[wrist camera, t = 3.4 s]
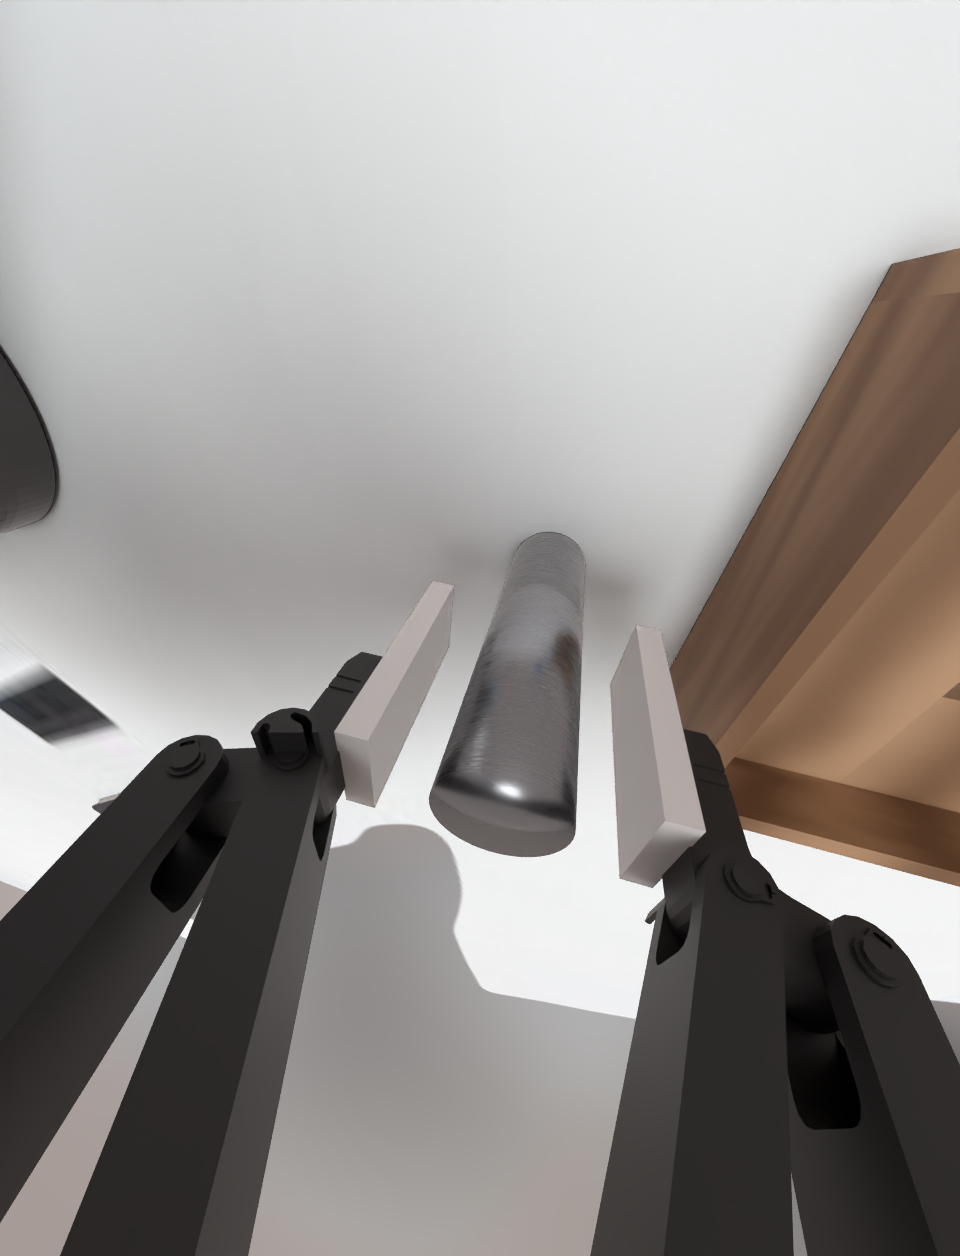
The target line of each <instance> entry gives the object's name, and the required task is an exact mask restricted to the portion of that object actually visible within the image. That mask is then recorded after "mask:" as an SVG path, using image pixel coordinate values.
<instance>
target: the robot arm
mask: <svg viewBox="0 0 960 1256" xmlns="http://www.w3.org/2000/svg"><path fill="white" fill-rule="evenodd" d="M54 494H55V473H54V467H53V461H52V457H51V453H50V450H49V446H48V443H47V440H46V438H45V435H44V432H43V430H42V427H41V425H40V422H39V420H38V418H37V416H36V414H35V411H34V409H33V407H32V405H31V403H30V401H29V399H28V398H27V396H26V394H25V392H24V390H23V388H22V387H21V385H20V383H19V381H18V380H17V378H16V376H15V375H14V373H13V371H12V370H11V368H10V367H9V365H8V364H7V362H6V360H5V359H4V357H3V356H2V354H1V353H0V534H2V533H5V532H8V531H11V530H14V529H16V528H19V527H22V526H25V525H28V524H31V523H34V522H36V521H38V520H40V519H41V518H42V517H44V516H45V515H46V513H47V512H48V511H49V509H50V507H51V505H52V502H53V499H54ZM453 591H454V585H450V584H445V583H441V582H436V581H432V582H431V584H430V585H429V587H428V588H427V590H426V591H425V593H424V595H423V596H422V598H421V599H420V601H419V602H418V604H417V605H416V607H415V608H414V610H413V611H412V613H411V614H410V616H409V618H408V619H407V621H406V622H405V624H404V625H403V627H402V628H401V630H400V631H399V633H398V634H397V636H396V638H395V639H394V641H393V642H392V644H391V645H390V647H389V648H388V650H387V651H386V653H385V654H384V656H383V657H381V656H377V655H373V654H369V653H364V652H361V653H359V654H357V655H356V656H354V657H353V658H351V659H350V660H348V661H347V662H346V663H345V664H344V666H343V667H342V668H341V670H340V671H339V672H338V674H337V676H336V677H335V678H334V679H333V680H332V682H331V683H330V684H329V687H328V688H326V689H325V691H324V692H323V693H322V695H321V696H320V697H319V699H318V700H317V701H316V703H315V704H314V705H313V707H312V708H311V709H310V711H309V712H308V711H307V710H305V709H299V708H288V709H281V710H278V711H276V712H273V713H271V714H268V715H267V716H266V717H264V718H263V719H262V720H260V721H259V722H258V723H257V724H256V726H255V727H254V728H253V730H252V731H251V734H252V737H253V740H254V742H255V745H256V747H257V748H239V749H223V748H222V746H221V745H220V743H219V742H218V740H217V739H215V738H212V737H210V736H207V735H194V736H190V737H186V738H182V739H180V740H178V741H176V742H174V743H172V744H170V745H168V746H167V747H166V748H164V749H163V750H162V751H161V752H160V753H158V754H157V755H156V756H155V757H154V758H153V759H152V760H151V762H150V763H149V764H148V765H147V766H146V767H145V768H144V769H143V770H142V771H141V772H140V773H139V774H138V775H137V776H136V777H135V779H134V780H133V781H132V782H131V783H130V784H129V785H128V786H127V787H126V788H125V789H124V790H123V791H122V792H121V793H120V794H119V796H118V797H117V798H116V799H115V800H114V801H113V802H112V803H111V804H110V805H109V806H108V807H107V808H106V809H105V810H104V811H103V812H102V814H101V815H100V816H99V817H98V818H97V819H96V820H95V821H94V822H93V823H92V824H91V825H90V826H89V827H88V828H87V829H86V831H85V832H84V833H83V834H82V835H81V836H80V837H79V838H78V839H77V840H76V841H75V842H74V843H73V844H72V845H71V846H70V847H69V849H68V850H67V851H66V852H65V853H64V854H63V855H62V856H61V857H60V858H59V859H58V860H57V861H56V862H55V863H54V864H53V866H52V867H51V868H50V869H49V870H48V871H47V872H46V873H45V874H44V875H43V876H42V877H41V878H40V879H39V880H38V881H37V883H36V884H35V885H34V886H33V887H32V888H31V889H30V890H29V891H28V892H27V893H26V894H25V895H24V896H23V897H22V898H21V900H20V901H19V902H18V903H17V904H16V905H15V906H14V907H13V908H12V909H11V910H10V911H9V912H8V913H7V914H6V915H5V916H4V918H3V919H2V920H1V921H0V1222H1V1221H2V1219H3V1217H4V1216H5V1214H6V1213H7V1211H8V1209H9V1208H10V1206H11V1205H12V1203H13V1201H14V1200H15V1198H16V1196H17V1195H18V1193H19V1192H20V1190H21V1189H22V1187H23V1185H24V1184H25V1182H26V1181H27V1179H28V1177H29V1176H30V1174H31V1173H32V1171H33V1169H34V1168H35V1166H36V1165H37V1163H38V1161H39V1160H40V1158H41V1157H42V1155H43V1153H44V1152H45V1150H46V1148H47V1147H48V1145H49V1144H50V1142H51V1141H52V1139H53V1137H54V1136H55V1134H56V1133H57V1131H58V1129H59V1128H60V1126H61V1125H62V1123H63V1121H64V1120H65V1118H66V1117H67V1115H68V1113H69V1112H70V1110H71V1109H72V1107H73V1105H74V1104H75V1102H76V1101H77V1099H78V1097H79V1096H80V1094H81V1092H82V1091H83V1089H84V1088H85V1086H86V1085H87V1083H88V1081H89V1080H90V1078H91V1077H92V1075H93V1073H94V1072H95V1070H96V1069H97V1067H98V1065H99V1063H100V1062H101V1061H102V1059H103V1057H104V1056H105V1054H106V1052H107V1051H108V1049H109V1048H110V1046H111V1044H112V1043H113V1041H114V1039H115V1038H116V1036H117V1035H118V1033H119V1032H120V1030H121V1028H122V1027H123V1025H124V1023H125V1022H126V1020H127V1019H128V1017H129V1016H130V1014H131V1012H132V1011H133V1009H134V1008H135V1006H136V1004H137V1003H138V1001H139V999H140V998H141V996H142V995H143V993H144V992H145V990H146V988H147V987H148V985H149V984H150V982H151V980H152V979H153V977H154V976H155V974H156V972H157V971H158V969H159V968H160V966H161V964H162V963H163V961H164V959H165V958H166V956H167V955H168V953H169V952H170V950H171V948H172V946H173V945H174V944H175V942H176V940H177V939H178V937H179V936H180V934H181V932H182V931H183V929H184V928H185V926H186V924H187V923H188V921H189V920H190V918H191V916H192V914H193V913H194V912H195V910H196V908H197V907H198V905H199V904H200V902H201V900H202V899H203V900H202V902H201V905H200V907H199V910H198V912H197V915H196V917H195V920H194V922H193V925H192V927H191V930H190V932H189V935H188V937H187V940H186V942H185V945H184V948H183V950H182V952H181V955H180V957H179V960H178V962H177V965H176V968H175V970H174V972H173V975H172V977H171V980H170V982H169V985H168V988H167V990H166V992H165V995H164V997H163V1000H162V1002H161V1005H160V1007H159V1010H158V1012H157V1015H156V1017H155V1020H154V1022H153V1025H152V1027H151V1030H150V1032H149V1035H148V1037H147V1040H146V1042H145V1045H144V1047H143V1050H142V1052H141V1055H140V1057H139V1060H138V1062H137V1065H136V1067H135V1070H134V1072H133V1075H132V1077H131V1080H130V1082H129V1085H128V1087H127V1090H126V1092H125V1095H124V1097H123V1100H122V1102H121V1105H120V1108H119V1110H118V1112H117V1115H116V1118H115V1120H114V1122H113V1125H112V1127H111V1130H110V1132H109V1135H108V1137H107V1140H106V1142H105V1145H104V1147H103V1150H102V1152H101V1155H100V1157H99V1160H98V1162H97V1165H96V1167H95V1170H94V1172H93V1175H92V1177H91V1180H90V1182H89V1185H88V1187H87V1190H86V1192H85V1195H84V1197H83V1200H82V1202H81V1205H80V1207H79V1210H78V1212H77V1215H76V1217H75V1220H74V1222H73V1225H72V1227H71V1230H70V1232H69V1235H68V1237H67V1240H66V1242H65V1245H64V1247H63V1250H62V1252H61V1255H60V1256H248V1253H249V1248H250V1243H251V1238H252V1233H253V1228H254V1223H255V1218H256V1213H257V1208H258V1203H259V1198H260V1193H261V1188H262V1183H263V1178H264V1173H265V1168H266V1163H267V1159H268V1153H269V1148H270V1143H271V1139H272V1133H273V1129H274V1123H275V1119H276V1114H277V1108H278V1104H279V1099H280V1094H281V1089H282V1084H283V1078H284V1074H285V1069H286V1064H287V1059H288V1054H289V1049H290V1044H291V1039H292V1034H293V1029H294V1024H295V1019H296V1014H297V1009H298V1004H299V999H300V994H301V989H302V984H303V979H304V974H305V969H306V964H307V959H308V954H309V949H310V944H311V939H312V934H313V929H314V924H315V920H316V915H317V909H318V905H319V899H320V895H321V890H322V885H323V880H324V875H325V870H326V864H327V860H328V855H329V850H330V845H331V840H332V835H333V830H334V825H335V820H336V803H337V801H338V799H339V797H340V796H341V794H342V792H343V790H344V789H345V795H346V800H349V801H353V802H356V803H360V804H363V805H367V806H370V807H374V808H375V806H376V804H377V802H378V799H379V797H380V795H381V793H382V791H383V789H384V786H385V784H386V782H387V780H388V778H389V776H390V773H391V771H392V769H393V767H394V765H395V763H396V760H397V758H398V756H399V754H400V752H401V750H402V747H403V745H404V743H405V741H406V739H407V737H408V734H409V732H410V730H411V728H412V726H413V724H414V721H415V719H416V717H417V715H418V713H419V711H420V708H421V706H422V704H423V702H424V700H425V698H426V695H427V693H428V691H429V689H430V687H431V685H432V682H433V680H434V678H435V676H436V674H437V672H438V669H439V667H440V665H441V663H442V661H443V659H444V656H445V654H446V652H447V650H448V648H449V640H450V628H451V616H452V603H453ZM610 690H611V711H612V732H613V752H614V773H615V794H616V815H617V835H618V856H619V877H620V879H623V880H627V881H630V882H634V883H637V884H641V885H644V886H648V887H651V888H653V887H654V886H655V885H656V884H657V883H658V882H659V881H660V880H661V879H663V887H664V895H665V898H664V899H663V900H662V901H660V902H659V903H658V904H657V905H656V906H655V907H654V908H653V909H652V910H651V911H650V912H649V914H648V916H647V918H646V920H645V922H647V923H648V924H651V923H652V922H653V921H654V920H655V924H654V929H653V934H652V940H651V945H650V950H649V955H648V960H647V965H646V971H645V976H644V981H643V986H642V991H641V996H640V1002H639V1007H638V1012H637V1017H636V1022H635V1027H634V1033H633V1038H632V1043H631V1049H630V1053H629V1059H628V1064H627V1069H626V1074H625V1079H624V1085H623V1090H622V1095H621V1100H620V1105H619V1110H618V1115H617V1121H616V1126H615V1131H614V1136H613V1141H612V1146H611V1152H610V1157H609V1162H608V1167H607V1173H606V1178H605V1183H604V1188H603V1193H602V1198H601V1203H600V1209H599V1214H598V1219H597V1224H596V1229H595V1234H594V1240H593V1245H592V1251H591V1255H590V1256H794V1252H793V1222H792V1192H791V1173H792V1178H793V1183H794V1188H795V1193H796V1199H797V1204H798V1209H799V1214H800V1219H801V1224H802V1229H803V1234H804V1239H805V1245H806V1250H807V1255H808V1256H960V1065H959V1062H958V1060H957V1058H956V1056H955V1054H954V1052H953V1050H952V1047H951V1045H950V1043H949V1040H948V1038H947V1036H946V1034H945V1032H944V1030H943V1027H942V1025H941V1023H940V1021H939V1019H938V1017H937V1014H936V1012H935V1010H934V1008H933V1005H932V1003H931V1001H930V999H929V997H928V994H927V992H926V990H925V988H924V986H923V983H922V981H921V979H920V977H919V975H918V973H917V971H916V970H915V968H914V966H913V965H912V963H911V961H910V960H909V958H908V956H907V955H906V954H905V953H904V952H903V951H902V950H901V948H900V947H899V946H898V945H897V944H896V943H895V942H894V940H893V939H892V938H890V937H889V936H888V935H887V934H885V933H884V932H883V931H882V930H880V929H879V928H878V927H877V926H875V925H874V924H872V923H870V922H868V921H866V920H864V919H862V918H860V917H856V916H849V915H843V916H841V917H838V918H836V919H834V920H832V921H830V920H829V919H827V918H825V917H824V916H822V915H820V914H818V913H817V912H815V911H813V910H812V909H810V908H808V907H806V906H805V905H803V904H801V903H800V902H798V901H796V900H795V899H793V898H791V897H790V896H788V895H787V894H785V893H784V892H782V891H781V890H779V889H778V887H777V885H776V884H775V882H774V880H773V878H772V876H771V875H770V873H769V872H768V871H767V870H766V869H765V868H764V867H763V866H762V865H761V864H760V863H759V861H757V860H756V859H754V858H753V857H752V856H751V853H750V851H749V849H748V846H747V842H746V839H745V836H744V832H743V829H742V826H741V822H740V819H739V816H738V812H737V809H736V806H735V802H734V799H733V796H732V792H731V790H729V787H730V786H729V783H728V779H727V776H726V775H725V774H724V773H725V769H724V766H723V763H722V759H721V756H720V753H719V751H718V750H717V748H716V747H715V746H714V744H713V743H712V741H711V740H710V739H709V737H708V736H707V734H703V733H699V732H695V731H691V730H686V729H683V728H682V723H681V719H680V714H679V710H678V706H677V701H676V697H675V692H674V688H673V684H672V679H671V675H670V670H669V666H668V661H667V657H666V653H665V648H664V644H663V639H662V635H661V631H660V630H658V629H653V628H648V627H644V626H639V625H636V627H635V629H634V631H633V634H632V636H631V638H630V640H629V643H628V645H627V647H626V650H625V652H624V654H623V656H622V659H621V661H620V663H619V666H618V668H617V670H616V672H615V675H614V677H613V679H612V682H611V684H610Z"/></svg>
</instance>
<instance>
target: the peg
mask: <svg viewBox="0 0 960 1256" xmlns="http://www.w3.org/2000/svg"><path fill="white" fill-rule="evenodd" d="M584 581H585V559H584V555H583V553H582V551H581V549H580V547H579V546H578V545H577V544H576V543H575V542H574V541H573V540H572V539H570V538H569V537H567V536H565V535H562V534H559V533H554V532H544V533H539V534H535V535H533V536H531V537H529V538H528V539H526V540H525V541H524V542H523V543H522V544H521V545H520V546H519V547H518V549H517V551H516V553H515V556H514V559H513V561H512V564H511V567H510V570H509V573H508V575H507V578H506V581H505V584H504V587H503V590H502V592H501V595H500V598H499V601H498V604H497V606H496V609H495V612H494V615H493V618H492V620H491V623H490V626H489V629H488V632H487V635H486V637H485V640H484V643H483V646H482V649H481V651H480V654H479V657H478V660H477V663H476V665H475V668H474V671H473V674H472V677H471V680H470V682H469V685H468V688H467V691H466V694H465V696H464V699H463V702H462V705H461V708H460V710H459V713H458V716H457V719H456V722H455V725H454V727H453V730H452V733H451V736H450V739H449V741H448V744H447V747H446V750H445V753H444V755H443V758H442V761H441V764H440V767H439V770H438V772H437V775H436V778H435V781H434V784H433V786H432V789H431V792H430V796H429V804H430V808H431V810H432V812H433V814H434V816H435V817H436V819H437V820H438V821H439V822H440V823H441V824H442V825H443V826H444V827H445V828H446V829H447V830H448V831H450V832H451V833H452V834H454V835H455V836H457V837H458V838H460V839H462V840H464V841H466V842H468V843H470V844H472V845H474V846H477V847H479V848H482V849H485V850H488V851H491V852H495V853H499V854H503V855H509V856H517V857H538V856H545V855H550V854H553V853H556V852H558V851H561V850H562V849H564V848H566V847H567V846H568V845H569V844H570V843H571V842H572V840H573V838H574V836H575V830H576V805H577V777H578V749H579V721H580V693H581V665H582V637H583V609H584Z"/></svg>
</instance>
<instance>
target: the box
mask: <svg viewBox="0 0 960 1256" xmlns="http://www.w3.org/2000/svg"><path fill="white" fill-rule="evenodd" d="M670 675H671V679H672V684H673V688H674V692H675V697H676V701H677V706H678V710H679V714H680V719H681V723H682V728H683V729H686V730H691V731H695V732H699V733H703V734H707V736H708V737H709V739H710V740H711V741H712V743H713V744H714V746H715V747H716V748H717V750H718V751H719V753H720V756H721V759H722V763H723V766H724V769H725V773H724V774H725V775H726V776H727V779H728V783H729V786H730V787H729V790H731V792H732V796H733V799H734V802H735V806H736V809H737V812H738V816H739V819H740V822H741V826H742V829H745V830H748V831H752V832H756V833H760V834H763V835H767V836H771V837H775V838H778V839H782V840H786V841H790V842H794V843H797V844H801V845H805V846H809V847H812V848H816V849H820V850H824V851H827V852H831V853H835V854H839V855H843V856H846V857H850V858H854V859H858V860H861V861H865V862H869V863H873V864H876V865H880V866H884V867H888V868H891V869H895V870H899V871H903V872H907V873H910V874H914V875H918V876H922V877H925V878H929V879H933V880H937V881H940V882H944V883H948V884H952V885H956V886H959V887H960V248H959V249H954V250H950V251H946V252H941V253H937V254H933V255H929V256H924V257H920V258H916V259H911V260H907V261H903V262H899V263H894V264H892V266H891V268H890V269H889V271H888V273H887V275H886V277H885V279H884V280H883V282H882V284H881V286H880V288H879V290H878V291H877V293H876V295H875V297H874V299H873V300H872V302H871V304H870V306H869V308H868V310H867V311H866V313H865V315H864V317H863V319H862V320H861V322H860V324H859V326H858V328H857V330H856V331H855V333H854V335H853V337H852V339H851V341H850V342H849V344H848V346H847V348H846V350H845V351H844V353H843V355H842V357H841V359H840V361H839V362H838V364H837V366H836V368H835V370H834V371H833V373H832V375H831V377H830V379H829V381H828V382H827V384H826V386H825V388H824V390H823V391H822V393H821V395H820V397H819V399H818V401H817V402H816V404H815V406H814V408H813V410H812V412H811V413H810V415H809V417H808V419H807V421H806V422H805V424H804V426H803V428H802V430H801V432H800V433H799V435H798V437H797V439H796V441H795V442H794V444H793V446H792V448H791V450H790V452H789V453H788V455H787V457H786V459H785V461H784V462H783V464H782V466H781V468H780V470H779V472H778V473H777V475H776V477H775V479H774V481H773V483H772V484H771V486H770V488H769V490H768V492H767V493H766V495H765V497H764V499H763V501H762V503H761V504H760V506H759V508H758V510H757V512H756V513H755V515H754V517H753V519H752V521H751V523H750V524H749V526H748V528H747V530H746V532H745V534H744V535H743V537H742V539H741V541H740V543H739V544H738V546H737V548H736V550H735V552H734V554H733V555H732V557H731V559H730V561H729V563H728V564H727V566H726V568H725V570H724V572H723V574H722V575H721V577H720V579H719V581H718V583H717V584H716V586H715V588H714V590H713V592H712V594H711V595H710V597H709V599H708V601H707V603H706V605H705V606H704V608H703V610H702V612H701V614H700V615H699V617H698V619H697V621H696V623H695V625H694V626H693V628H692V630H691V632H690V634H689V635H688V637H687V639H686V641H685V643H684V645H683V646H682V648H681V650H680V652H679V654H678V655H677V657H676V659H675V661H674V663H673V665H672V666H671V668H670Z"/></svg>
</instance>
